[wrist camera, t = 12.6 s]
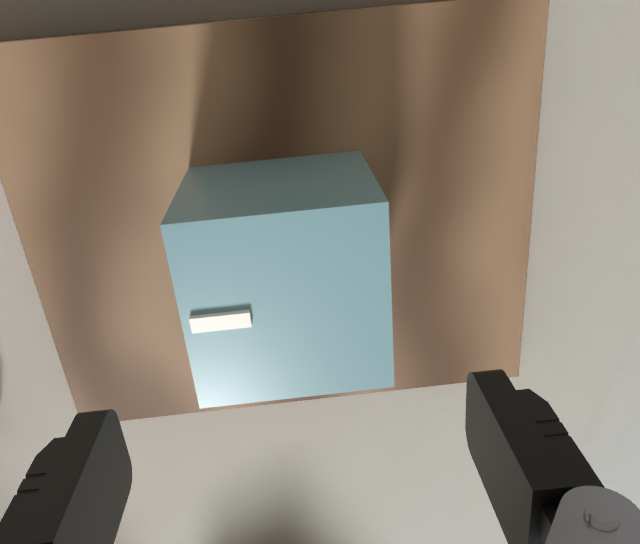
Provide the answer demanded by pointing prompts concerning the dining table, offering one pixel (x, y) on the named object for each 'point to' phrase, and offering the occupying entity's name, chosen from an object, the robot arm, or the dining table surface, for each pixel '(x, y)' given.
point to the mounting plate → (273, 143)
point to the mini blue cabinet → (282, 278)
